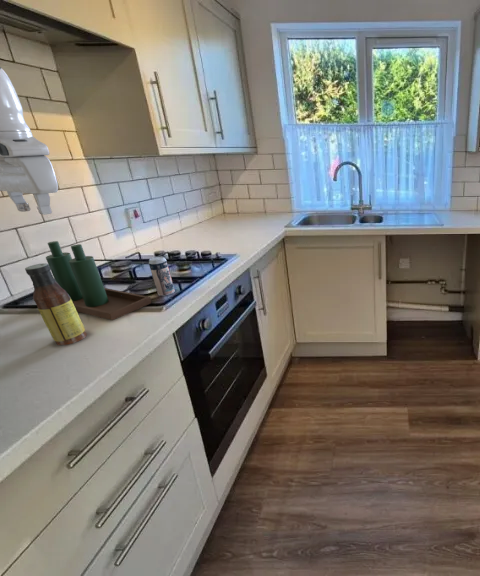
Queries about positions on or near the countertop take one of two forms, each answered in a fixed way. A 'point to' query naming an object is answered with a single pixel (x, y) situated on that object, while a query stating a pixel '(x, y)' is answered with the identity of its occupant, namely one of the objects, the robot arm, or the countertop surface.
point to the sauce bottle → (55, 306)
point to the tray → (114, 304)
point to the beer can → (161, 276)
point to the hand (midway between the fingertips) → (35, 212)
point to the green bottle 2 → (87, 278)
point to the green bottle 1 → (63, 270)
